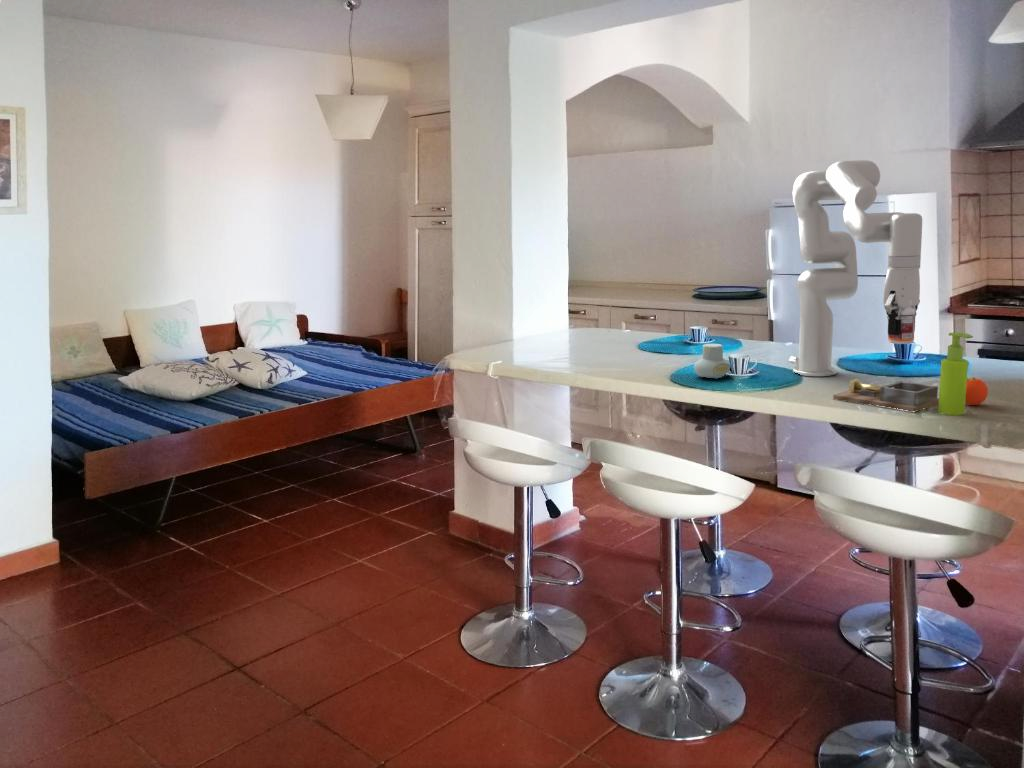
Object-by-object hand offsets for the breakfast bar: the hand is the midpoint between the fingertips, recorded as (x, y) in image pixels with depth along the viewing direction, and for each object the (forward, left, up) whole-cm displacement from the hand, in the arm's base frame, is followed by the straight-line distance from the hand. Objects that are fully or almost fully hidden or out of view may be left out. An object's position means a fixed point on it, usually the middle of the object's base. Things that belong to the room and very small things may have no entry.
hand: (901, 332), depth 231 cm
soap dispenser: (+15, -2, -19) cm, 24 cm away
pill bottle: (0, 0, -3) cm, 3 cm away
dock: (-3, -1, -18) cm, 19 cm away
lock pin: (-8, -1, -17) cm, 19 cm away
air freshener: (-56, -6, -19) cm, 59 cm away
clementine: (+14, +9, -19) cm, 25 cm away
